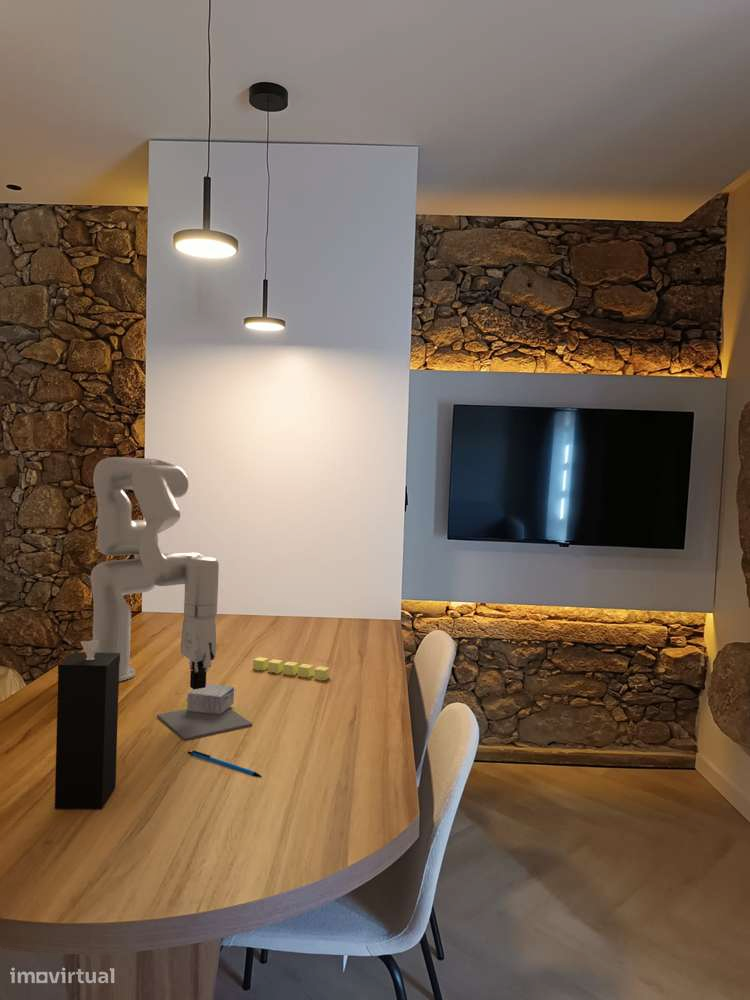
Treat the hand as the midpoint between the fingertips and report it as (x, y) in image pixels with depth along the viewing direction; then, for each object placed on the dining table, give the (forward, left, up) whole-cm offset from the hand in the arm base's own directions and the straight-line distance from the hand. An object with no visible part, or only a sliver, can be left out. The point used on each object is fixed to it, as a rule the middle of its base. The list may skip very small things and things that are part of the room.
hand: (197, 687), depth 158 cm
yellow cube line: (-19, +37, -7) cm, 42 cm away
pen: (+27, -6, -7) cm, 29 cm away
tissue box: (+27, -32, -7) cm, 42 cm away
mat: (+4, 0, -7) cm, 8 cm away
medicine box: (-5, +1, -4) cm, 7 cm away
